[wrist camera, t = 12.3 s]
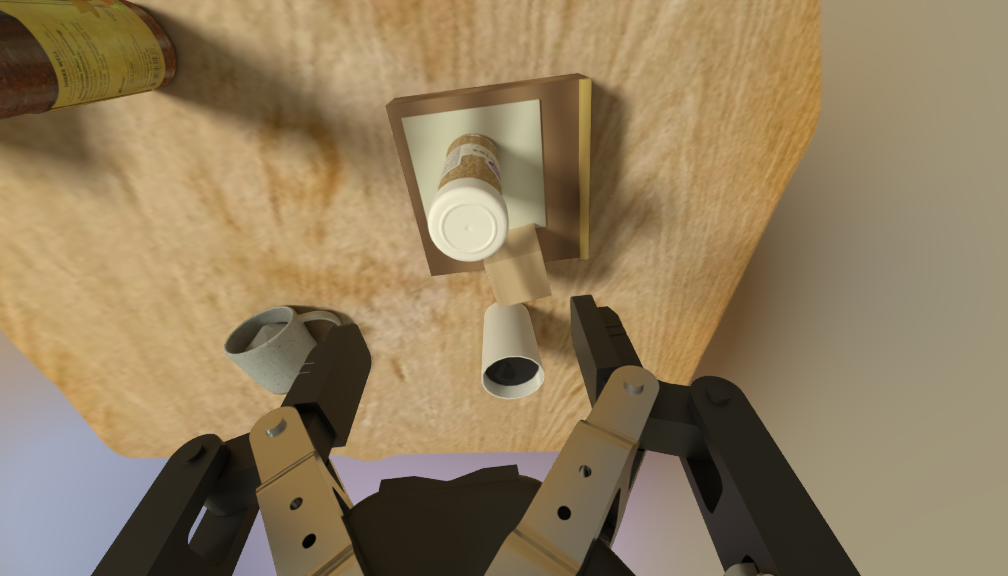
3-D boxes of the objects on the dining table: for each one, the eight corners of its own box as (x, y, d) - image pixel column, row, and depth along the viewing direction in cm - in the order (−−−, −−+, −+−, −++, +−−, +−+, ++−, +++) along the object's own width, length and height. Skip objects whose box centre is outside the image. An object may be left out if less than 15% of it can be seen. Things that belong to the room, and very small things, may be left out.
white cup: (513, 344, 50) (520, 406, 41) (470, 324, 47) (468, 386, 39) (543, 311, 47) (557, 370, 38) (499, 288, 44) (504, 346, 36)
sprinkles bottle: (510, 158, 32) (526, 227, 21) (474, 196, 33) (472, 278, 22) (469, 118, 30) (463, 170, 19) (433, 161, 31) (409, 231, 20)
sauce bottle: (133, -20, 27) (-395, -100, 11) (200, 73, 30) (-121, 121, 14) (64, 17, 28) (-518, -4, 12) (136, 103, 31) (-233, 180, 15)
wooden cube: (540, 250, 31) (483, 265, 32) (551, 295, 34) (499, 307, 35) (533, 222, 35) (482, 236, 36) (543, 264, 38) (496, 276, 39)
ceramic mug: (284, 360, 49) (256, 408, 43) (244, 313, 44) (206, 360, 38) (359, 341, 48) (342, 387, 42) (326, 292, 43) (301, 335, 37)
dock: (578, 73, 32) (591, 78, 28) (577, 238, 41) (588, 259, 37) (394, 98, 32) (383, 106, 28) (435, 256, 41) (430, 279, 38)
